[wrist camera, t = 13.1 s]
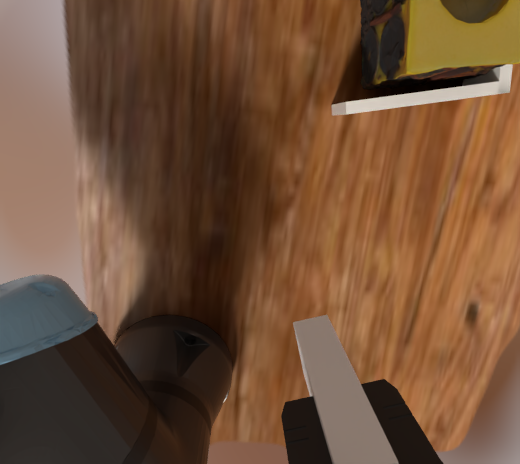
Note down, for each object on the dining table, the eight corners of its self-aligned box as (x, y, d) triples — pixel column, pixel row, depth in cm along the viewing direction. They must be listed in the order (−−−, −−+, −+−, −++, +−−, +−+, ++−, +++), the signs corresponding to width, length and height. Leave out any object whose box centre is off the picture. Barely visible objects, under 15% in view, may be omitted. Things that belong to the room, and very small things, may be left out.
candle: (461, 81, 32) (549, 64, 23) (359, 92, 33) (404, 81, 23) (471, -45, 29) (578, -124, 20) (358, -32, 29) (410, -105, 20)
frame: (332, 115, 33) (346, 114, 28) (323, -56, 29) (337, -91, 24) (471, 96, 33) (509, 92, 28) (484, -78, 28) (532, -118, 24)
